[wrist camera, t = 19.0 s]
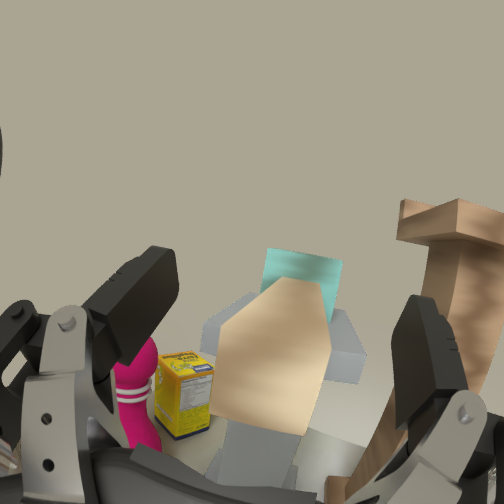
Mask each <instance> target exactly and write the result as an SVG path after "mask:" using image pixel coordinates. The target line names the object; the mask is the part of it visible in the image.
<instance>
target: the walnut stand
mask: <svg viewBox="0 0 504 504" xmlns="http://www.w3.org/2000/svg"><path fill="white" fill-rule="evenodd" d="M396 239H397V240H401V241H405V242H410V243H415V244H419V245H425V246H429V252H428V259H427V265H426V271H425V277H424V282H423V287H422V292H421V296H425V297H431V298H433V299H434V300H435V303H436V306H437V309H438V312H439V314H440V315H443V316H444V317H445V318H446V320H447V321H448V322H449V324H450V325H451V326H452V329H453V333H454V336H455V342H457V346H458V349H459V350H458V352H460V356H461V360H462V363H463V367H464V371H465V375H466V380H467V384H468V388H469V391H472V392H474V393H476V394H477V395H479V392H480V390H481V388H482V385H483V383H484V380H485V378H486V375H487V373H488V370H489V367H490V364H491V362H492V359H493V356H494V353H495V350H496V347H497V344H498V340H499V337H500V334H501V330H502V326H503V322H504V213H501V212H498V211H495V210H493V209H490V208H487V207H484V206H480V205H477V204H475V203H471V202H469V201H465V200H462V199H459V198H458V199H455V200H453V201H450V202H447V203H445V204H442V205H439V206H432V205H429V204H425V203H421V202H417V201H412V200H408V199H404V200H402V201H401V204H400V213H399V222H398V230H397V237H396ZM406 438H408V430H396V417H395V388H393V390H392V393H391V396H390V398H389V400H388V403H387V405H386V408H385V410H384V412H383V415H382V417H381V420H380V422H379V424H378V426H377V428H376V430H375V433H374V434H373V437H372V439H371V441H370V443H369V445H368V447H367V449H366V451H365V452H364V454H363V456H362V458H361V460H360V462H359V464H358V465H357V467H356V469H355V471H354V472H353V474H352V476H351V477H340V476H328V478H327V480H326V482H325V497H324V504H343V503H344V502H345V501H346V500H347V499H349V498H350V497H351V496H352V495H353V494H355V493H356V492H357V491H358V490H360V489H361V488H363V487H364V486H365V485H366V484H367V483H368V482H369V481H370V480H371V479H372V478H373V477H374V476H375V475H376V474H377V473H378V472H379V470H380V469H381V468H382V467H383V466H384V465H385V464H386V462H387V461H388V460H389V459H390V458H391V456H392V455H393V454H394V453H395V452H396V450H397V449H398V448H399V447H400V445H401V444H402V443H403V441H404V440H405V439H406Z"/></svg>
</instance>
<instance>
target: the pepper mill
mask: <svg viewBox="0 0 504 504" xmlns="http://www.w3.org/2000/svg"><path fill="white" fill-rule="evenodd" d="M157 365H158V352H157V348H156V345H155V343H154V341H153V339H152V338H151V337H149V339H148V340H147V342H146V343H145V344H144V346H143V347H142V349H141V350H140V352H139V353H138V354H137V356H136V357H135V359H134V360H133V362H132V363H131V365H130V366H129V367H127V366H125V365H122V364H120V363H118V362H116V364H115V365H114V367H113V370H114V373H115V384H116V393H117V402H118V410H119V417H120V421H121V424H122V426H123V428H124V430H125V433H126V436H127V439H128V442H129V447H130V448H134V449H135V447H136V445H137V443H138V442H139V443H141V444H144V445H146V446H148V447H150V448H152V449H154V450H157V451H159V452H161V453H162V446H161V440H160V437H159V435H158V433H157V430H156V429H155V427H154V426H153V424H152V423H151V421H150V419H149V417H148V415H147V409H146V400H147V398H148V397H149V396H150V394H151V391H152V389H151V384H152V380H151V378H150V377H151V376H152V375H153V374H154V372H155V371H156V368H157Z"/></svg>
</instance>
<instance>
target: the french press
mask: <svg viewBox="0 0 504 504" xmlns="http://www.w3.org/2000/svg"><path fill="white" fill-rule="evenodd" d="M495 468H496V467H495ZM495 468H493V469H492V470H491V472H490V473H489V475H488V481H490V480H491V481H490V483H488V496H487V504H493V503H494V501H495V497H496V484H495V481H496V476H493V477H491V475H493V474H495V473H496V471H494V472H493V470H494V469H495ZM490 477H491V478H490ZM494 480H495V481H494Z"/></svg>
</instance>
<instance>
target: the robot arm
mask: <svg viewBox="0 0 504 504" xmlns="http://www.w3.org/2000/svg"><path fill="white" fill-rule="evenodd" d="M1 165H2V135H1V129H0V175H1ZM178 292H179V281H178V273H177V266H176V257H175V253H174V251H173V250H172V249H168V248H163V247H158V246H151V247H150V248H148V249H147V250H146V251H145V252H144V253H143V254H142V255H141V256H140V257H136V258H134V259H132V260H130V261H128V262H126V263H125V264H124V265H123V266H122V267H120V268H119V269H118V270H117V271H116V274H113V275H112V276H111V277H110V278H109V280H108V281H106V282H105V283H104V284H103V285H102V286H101V287H100V288H99V289H98V290H97V291H96V292H95V293H94V294H93V295H92V296H91V297H90V298H89V299H88V300H87V301H86V302H85V303H84V304H83V305H82V306H81V307H80V306H76V305H70V306H65V307H62V308H60V309H58V310H57V311H56V312H54V313H53V314H52V315H44V314H38V313H37V311H36V309H35V307H34V305H33V303H32V302H31V301H29V300H20V301H17V302H15V303H13V304H12V305H11V306H9V308H7V309H6V310H5V311H4V313H3V314H2V315H1V316H0V504H324V503H322V502H320V501H317V500H316V496H317V493H312V492H303V491H296V490H289V489H283V488H277V487H272V486H225V485H219V484H216V483H214V482H213V481H211V480H209V479H208V478H206V477H204V476H203V475H201V474H199V473H198V472H196V471H195V470H193V469H191V468H190V467H188V466H187V465H185V464H184V463H182V462H181V461H179V460H178V459H176V458H173V457H171V456H168V455H166V454H164V453H161V452H159V451H157V450H154V449H152V448H150V447H148V446H146V445H144V444H141V443H139V442H138V443H137V445H136V447H135V449H134V448H130V447H129V442H128V439H127V436H126V433H125V430H124V428H123V426H122V424H121V421H120V417H119V410H118V402H117V393H116V384H115V373H114V370H113V367H114V365H115V364H116V362H118V363H120V364H122V365H125V366H127V367H129V366H130V365H131V363H132V362H133V360H134V359H135V357H136V356H137V354H138V353H139V352H140V350H141V349H142V347H143V346H144V344H145V343H146V342H147V340H148V339H149V337H150V336H151V334H152V333H153V332H154V330H155V329H156V327H157V326H158V325H159V323H160V322H161V320H162V319H163V317H164V316H165V315H166V313H167V312H168V311H169V309H170V308H171V306H172V305H173V304H174V302H175V301H176V299H177V296H178ZM391 349H392V360H393V371H394V388H395V417H396V430H408V438H406V439H405V440H404V441H403V443H402V444H401V445H400V447H399V448H398V449H397V450H396V452H395V453H394V454H393V455H392V456H391V458H390V459H389V460H388V461H387V462H386V464H385V465H384V466H383V467H382V468H381V469H380V470H379V472H378V473H377V474H376V475H375V476H374V477H373V478H372V479H371V480H370V481H369V482H368V483H367V484H366V485H365V486H364V487H363V488H361V489H360V490H358V491H357V492H356V493H355V494H353V495H352V496H351V497H350V498H349V499H347V500H346V501H345V502H344V503H343V504H487V496H488V471H490V470H492V469H493V468H495V467H496V497H495V501H494V503H493V504H504V417H502V416H498V415H496V414H492V413H489V412H487V410H486V406H485V403H484V402H483V400H482V399H481V397H480V396H479V395H477V394H476V393H474V392H472V391H469V388H468V384H467V380H466V375H465V371H464V367H463V363H462V360H461V356H460V352H458V350H459V349H458V346H457V342H455V336H454V333H453V329H452V326H451V325H450V324H449V322H448V321H447V320H446V318H445V317H444V316H443V315H440V314H439V312H438V309H437V306H436V303H435V300H434V299H433V298H431V297H425V296H418V295H411V296H410V297H409V299H408V301H407V303H406V306H405V308H404V310H403V312H402V314H401V316H400V318H399V320H398V322H397V324H396V326H395V328H394V331H393V335H392V340H391ZM19 350H20V351H21V352H22V354H23V355H24V357H25V358H26V359H27V362H26V363H25V365H24V366H23V367H22V369H21V370H20V371H19V373H18V374H17V375H16V377H15V378H14V379H13V381H12V382H11V384H10V385H9V386H7V387H5V386H4V385H3V383H2V379H1V377H2V373H3V371H4V370H5V368H6V367H7V366H8V364H9V363H10V362H11V361H12V359H13V358H14V357H15V355H16V354H17V353H18V352H19ZM20 438H21V460H20V457H19V455H18V453H17V450H16V448H15V447H16V445H17V443H18V442H19V440H20Z"/></svg>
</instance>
